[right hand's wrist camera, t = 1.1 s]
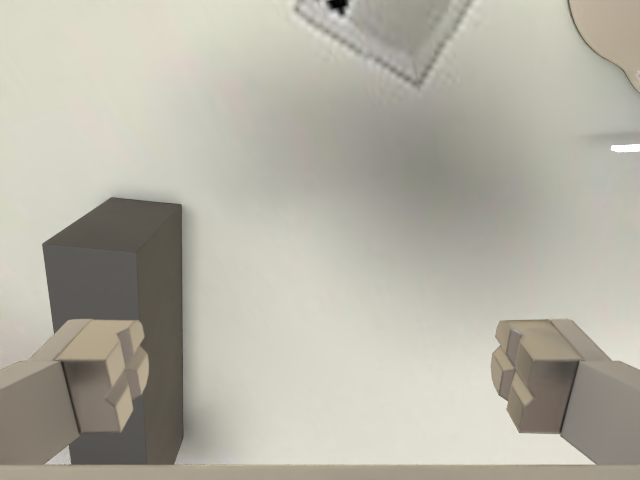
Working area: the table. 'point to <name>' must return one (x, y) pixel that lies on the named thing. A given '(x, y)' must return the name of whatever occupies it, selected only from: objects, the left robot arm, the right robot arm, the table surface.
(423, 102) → the table surface
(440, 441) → the table surface
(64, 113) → the table surface
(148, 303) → the box
